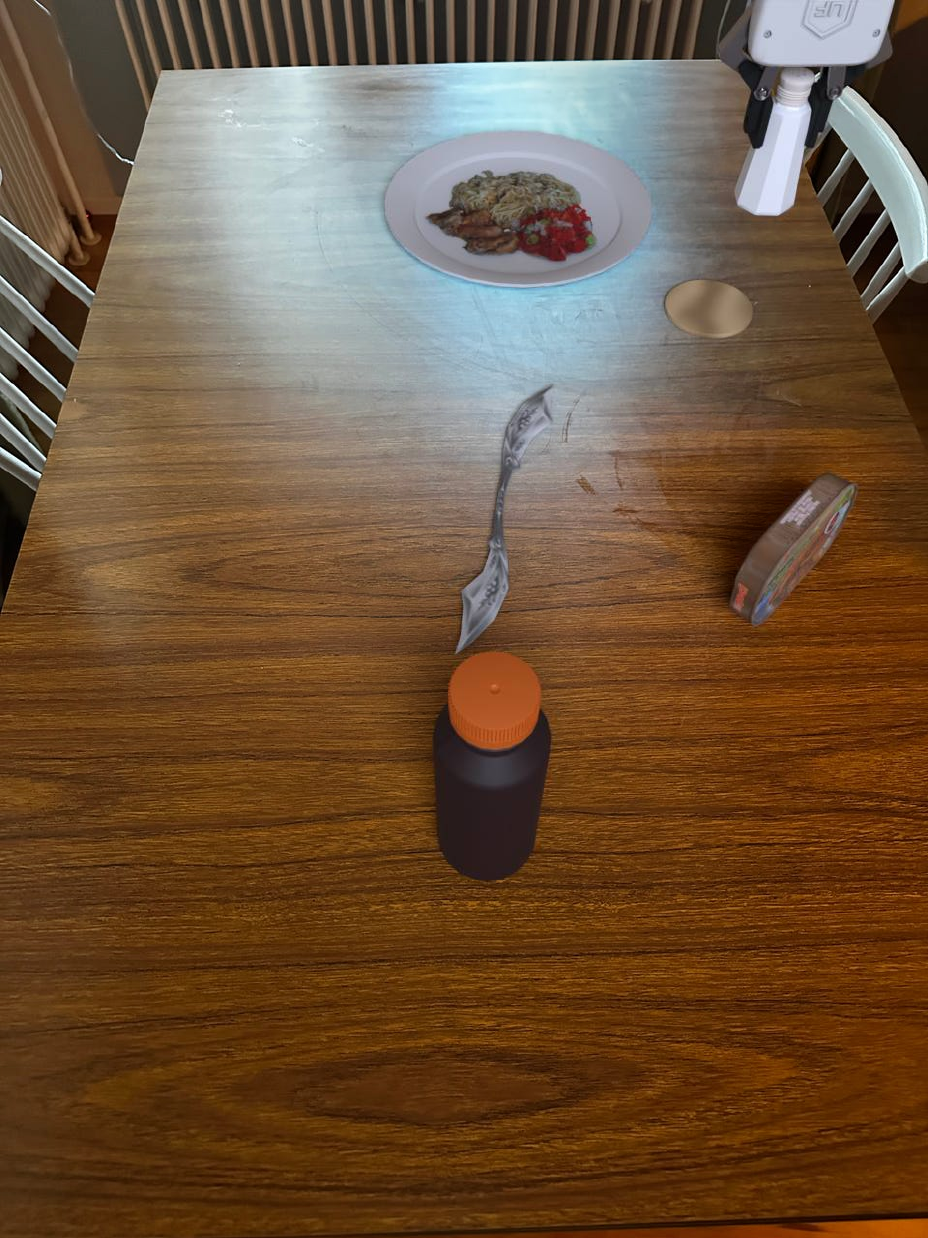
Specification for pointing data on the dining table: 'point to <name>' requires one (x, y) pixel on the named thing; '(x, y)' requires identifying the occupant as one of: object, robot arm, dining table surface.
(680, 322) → the cork coaster
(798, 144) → the pepper shaker
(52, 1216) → the dining table surface
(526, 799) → the bottle
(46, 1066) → the dining table surface
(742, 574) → the tin
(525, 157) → the plated food
